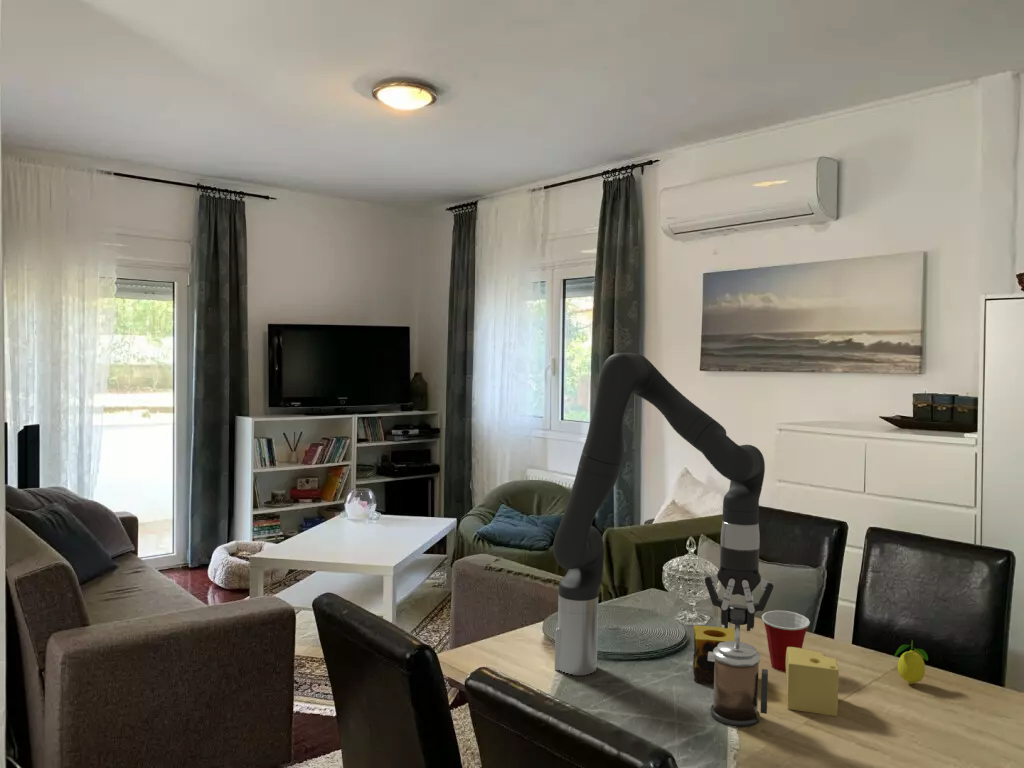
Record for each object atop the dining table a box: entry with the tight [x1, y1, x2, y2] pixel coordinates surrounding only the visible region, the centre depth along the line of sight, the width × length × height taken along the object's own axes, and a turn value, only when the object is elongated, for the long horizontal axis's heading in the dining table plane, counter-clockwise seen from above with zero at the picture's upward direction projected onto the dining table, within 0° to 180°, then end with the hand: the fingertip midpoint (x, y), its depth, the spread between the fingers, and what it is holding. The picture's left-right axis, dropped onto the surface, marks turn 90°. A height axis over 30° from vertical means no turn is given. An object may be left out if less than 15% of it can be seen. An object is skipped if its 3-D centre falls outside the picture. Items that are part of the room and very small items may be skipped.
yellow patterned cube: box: [692, 624, 735, 685], centre depth 180 cm, size 10×10×10 cm
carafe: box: [708, 647, 769, 728], centre depth 159 cm, size 12×10×13 cm
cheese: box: [785, 647, 840, 717], centre depth 166 cm, size 10×11×10 cm
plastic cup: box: [761, 610, 811, 673], centre depth 186 cm, size 11×11×12 cm
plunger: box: [717, 603, 757, 658], centre depth 159 cm, size 8×8×9 cm
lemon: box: [894, 639, 929, 685], centre depth 178 cm, size 7×6×10 cm
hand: (737, 628), depth 159 cm, fingers closed on plunger, 3 cm apart
